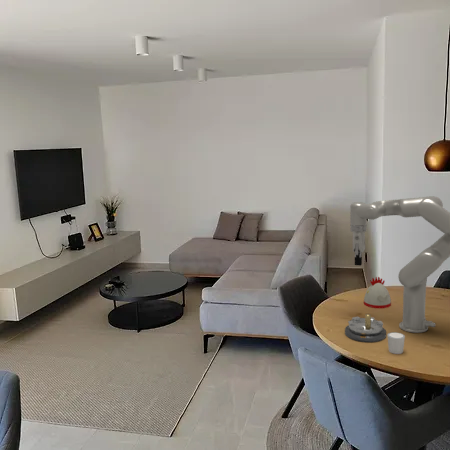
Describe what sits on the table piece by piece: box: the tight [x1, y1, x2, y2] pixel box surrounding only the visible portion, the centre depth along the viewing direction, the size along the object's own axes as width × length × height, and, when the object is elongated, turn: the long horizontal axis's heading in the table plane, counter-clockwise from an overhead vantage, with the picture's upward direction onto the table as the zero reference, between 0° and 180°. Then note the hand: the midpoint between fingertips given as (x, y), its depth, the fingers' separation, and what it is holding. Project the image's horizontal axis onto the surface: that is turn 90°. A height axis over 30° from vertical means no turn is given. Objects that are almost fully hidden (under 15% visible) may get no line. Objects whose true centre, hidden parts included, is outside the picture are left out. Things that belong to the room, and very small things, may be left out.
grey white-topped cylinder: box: [386, 332, 406, 355], centre depth 202 cm, size 7×7×7 cm
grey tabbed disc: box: [347, 313, 384, 336], centre depth 219 cm, size 15×15×9 cm
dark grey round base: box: [344, 324, 387, 344], centre depth 220 cm, size 18×18×2 cm
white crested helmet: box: [363, 276, 392, 309], centre depth 258 cm, size 14×14×15 cm
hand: (358, 264), depth 236 cm, fingers closed
